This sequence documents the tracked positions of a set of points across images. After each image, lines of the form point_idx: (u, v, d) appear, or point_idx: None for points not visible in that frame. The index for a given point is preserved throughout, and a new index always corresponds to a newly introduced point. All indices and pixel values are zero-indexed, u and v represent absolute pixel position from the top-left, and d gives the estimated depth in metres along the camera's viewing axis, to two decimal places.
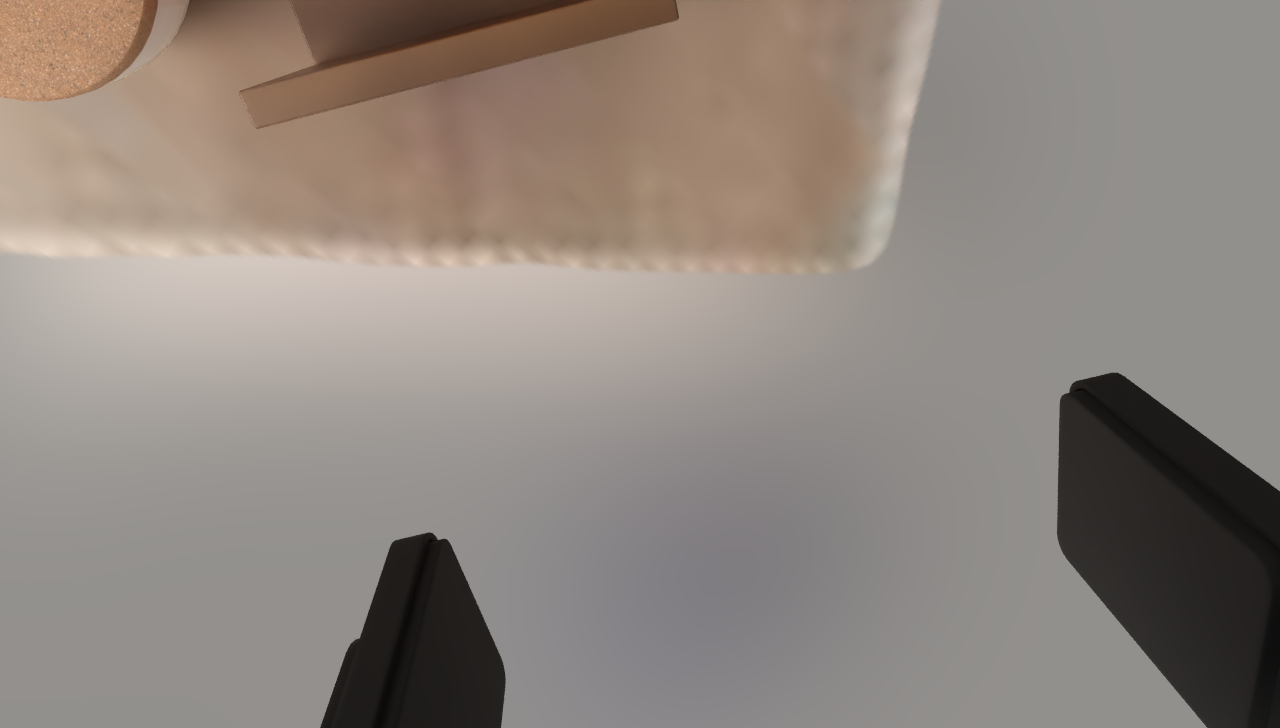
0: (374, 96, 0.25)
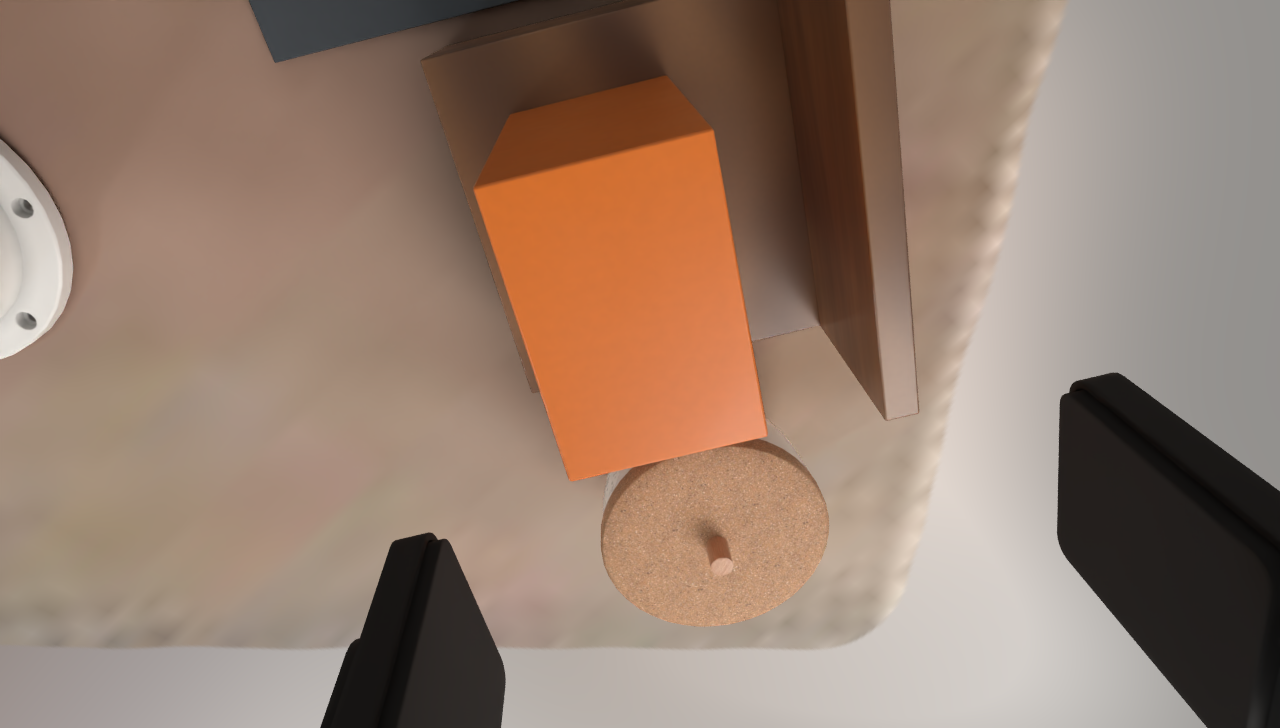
0: (910, 306, 0.24)
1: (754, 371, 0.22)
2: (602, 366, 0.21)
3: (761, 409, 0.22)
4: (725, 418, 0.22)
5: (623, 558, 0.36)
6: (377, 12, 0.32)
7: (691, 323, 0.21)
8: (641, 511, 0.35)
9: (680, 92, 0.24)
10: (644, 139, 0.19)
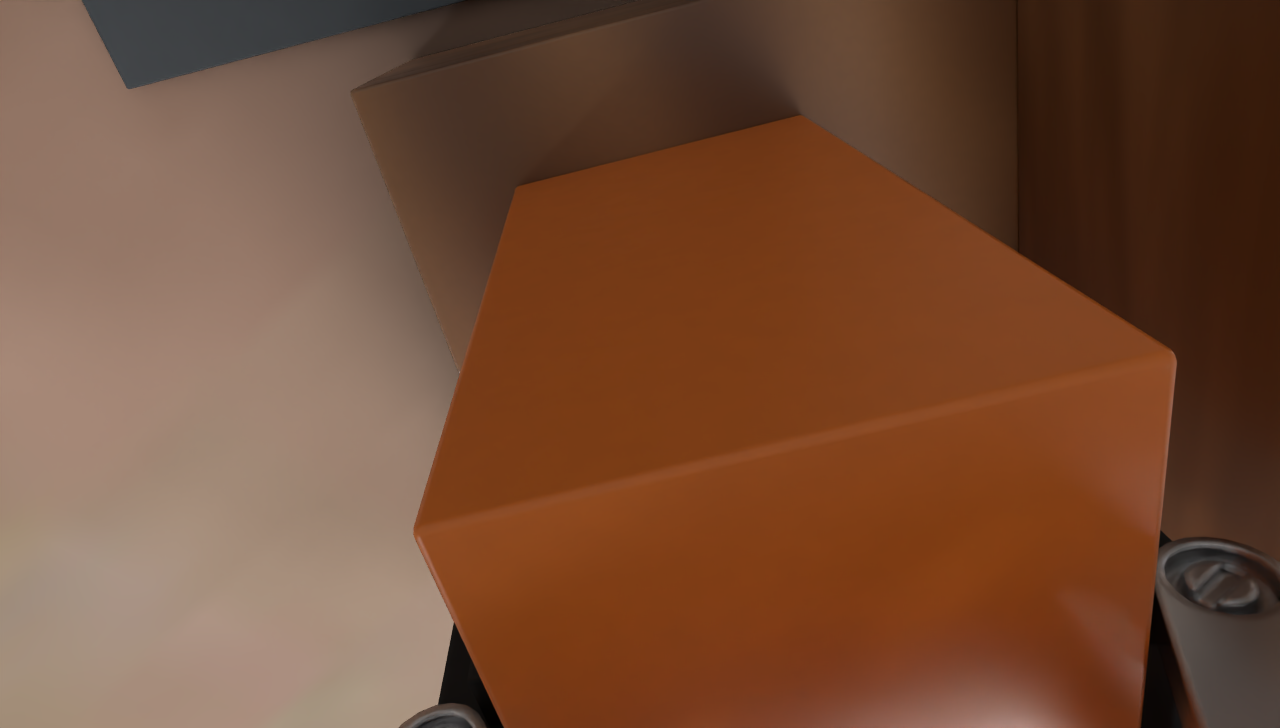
0: None
1: None
2: None
3: None
4: None
5: None
6: (294, 5, 0.19)
7: None
8: None
9: (879, 165, 0.11)
10: (931, 366, 0.06)
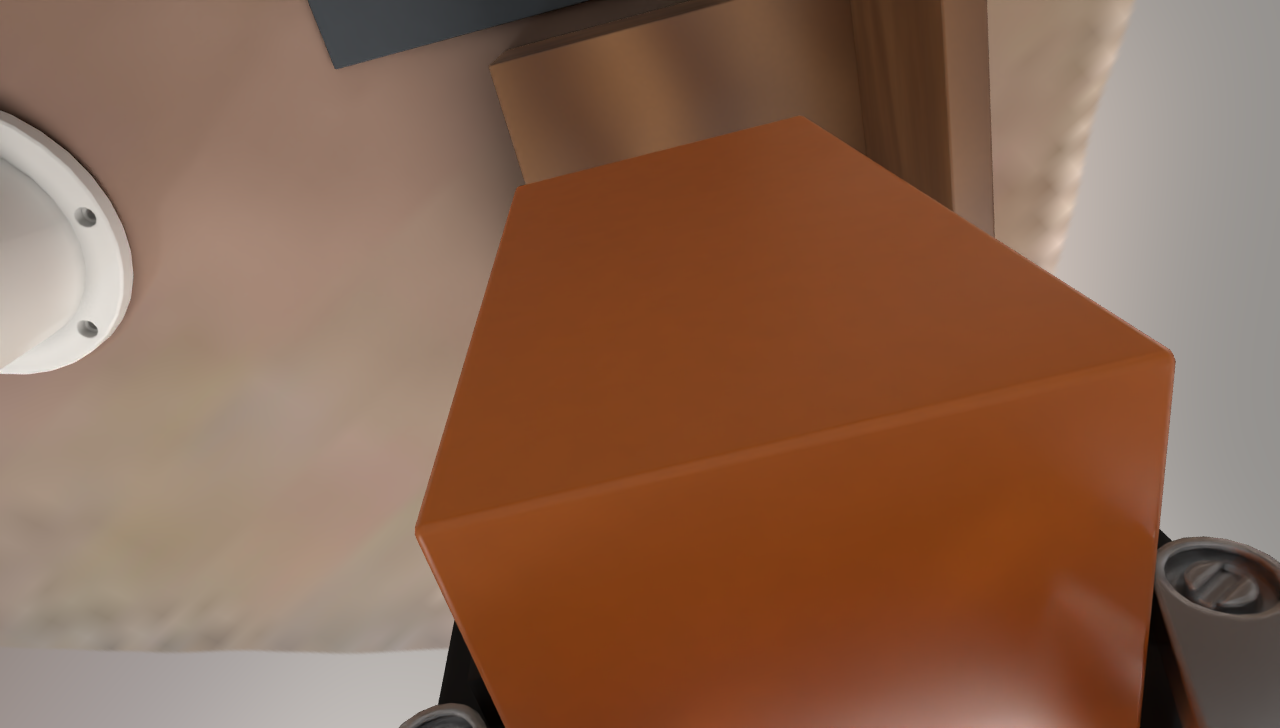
0: None
1: None
2: None
3: None
4: None
5: None
6: (438, 17, 0.32)
7: None
8: None
9: (879, 165, 0.11)
10: (930, 366, 0.06)
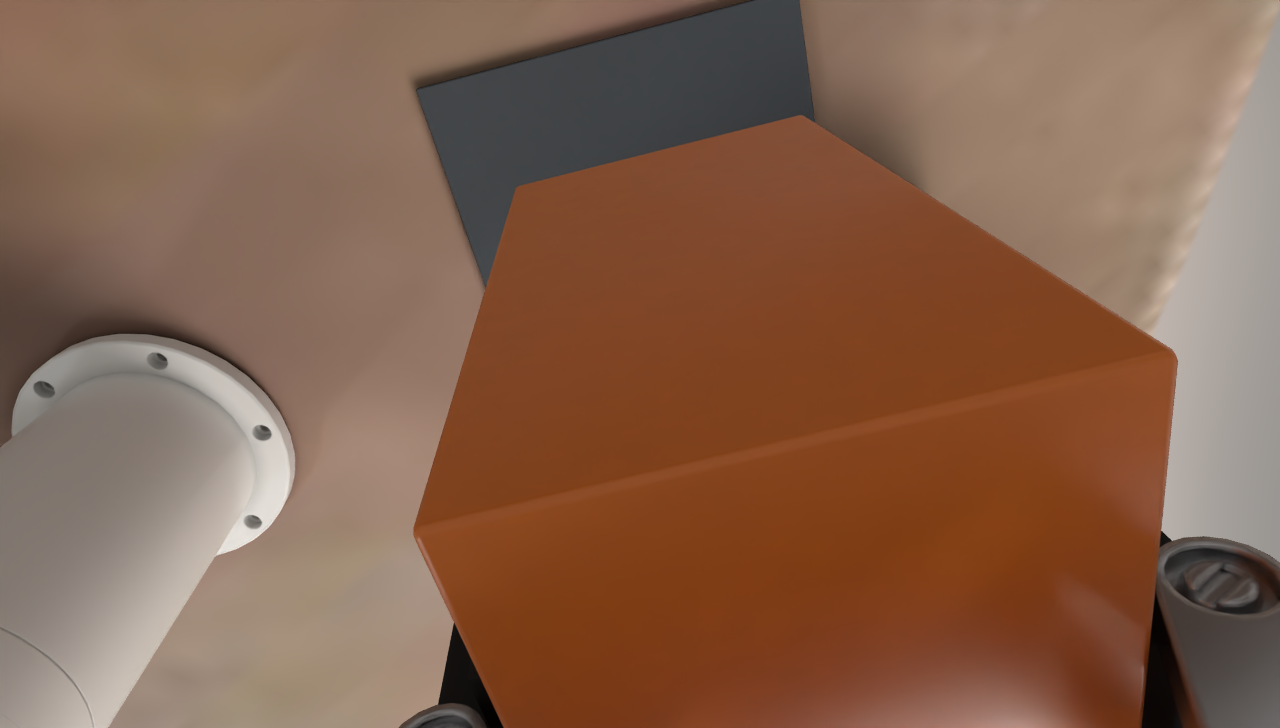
0: None
1: None
2: None
3: None
4: None
5: None
6: None
7: None
8: None
9: (880, 165, 0.11)
10: (931, 366, 0.06)
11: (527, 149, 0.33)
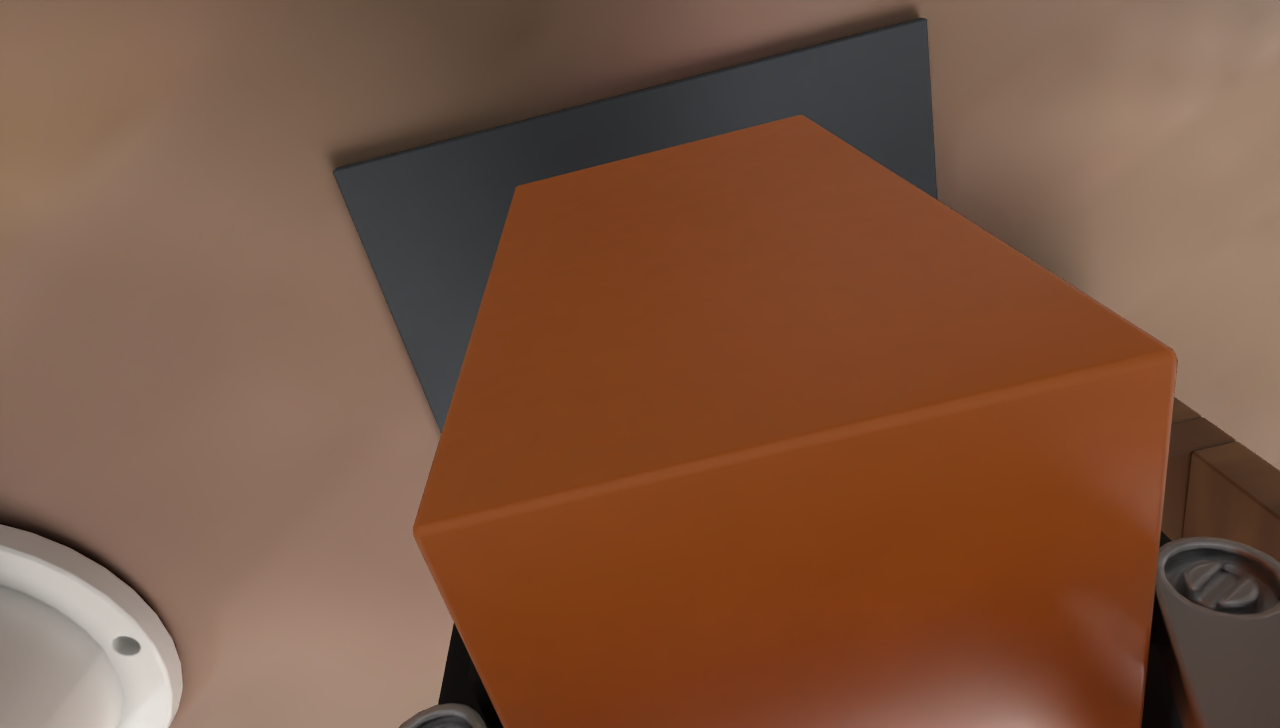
0: None
1: None
2: None
3: None
4: None
5: None
6: None
7: None
8: None
9: (879, 164, 0.11)
10: (931, 366, 0.06)
11: None
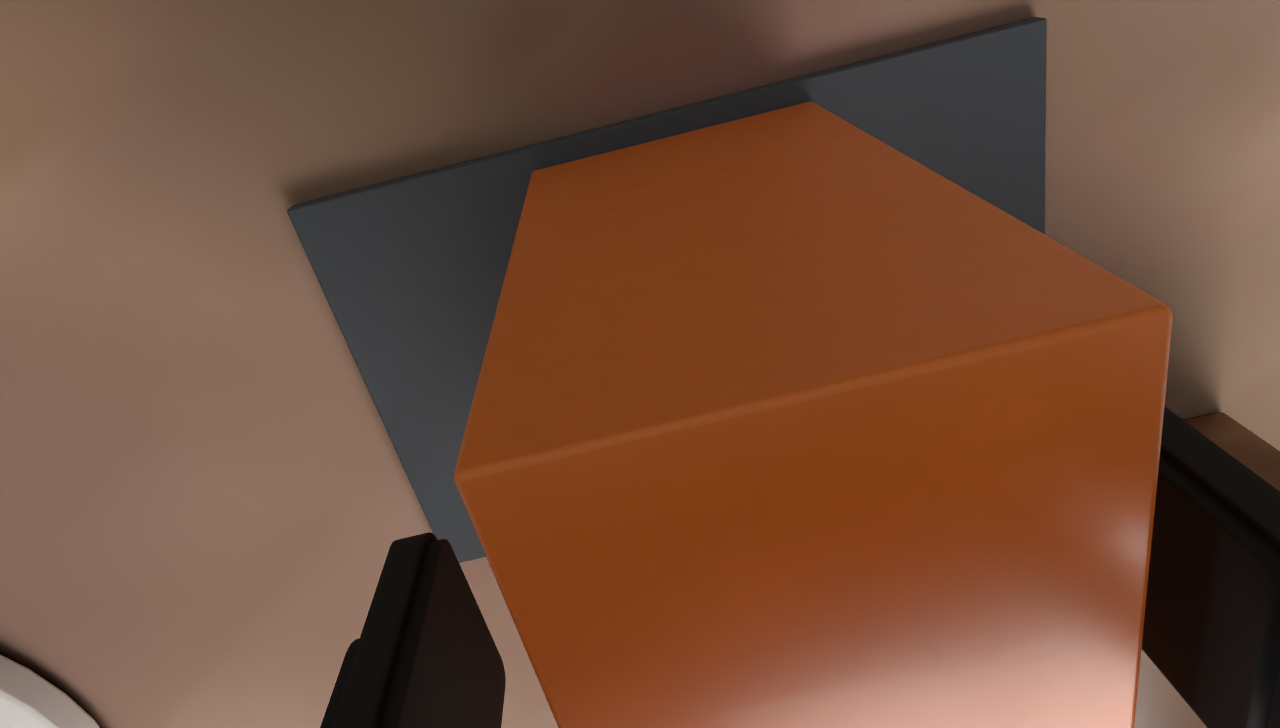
0: None
1: None
2: None
3: None
4: None
5: None
6: None
7: None
8: None
9: (888, 146, 0.12)
10: (940, 324, 0.07)
11: None
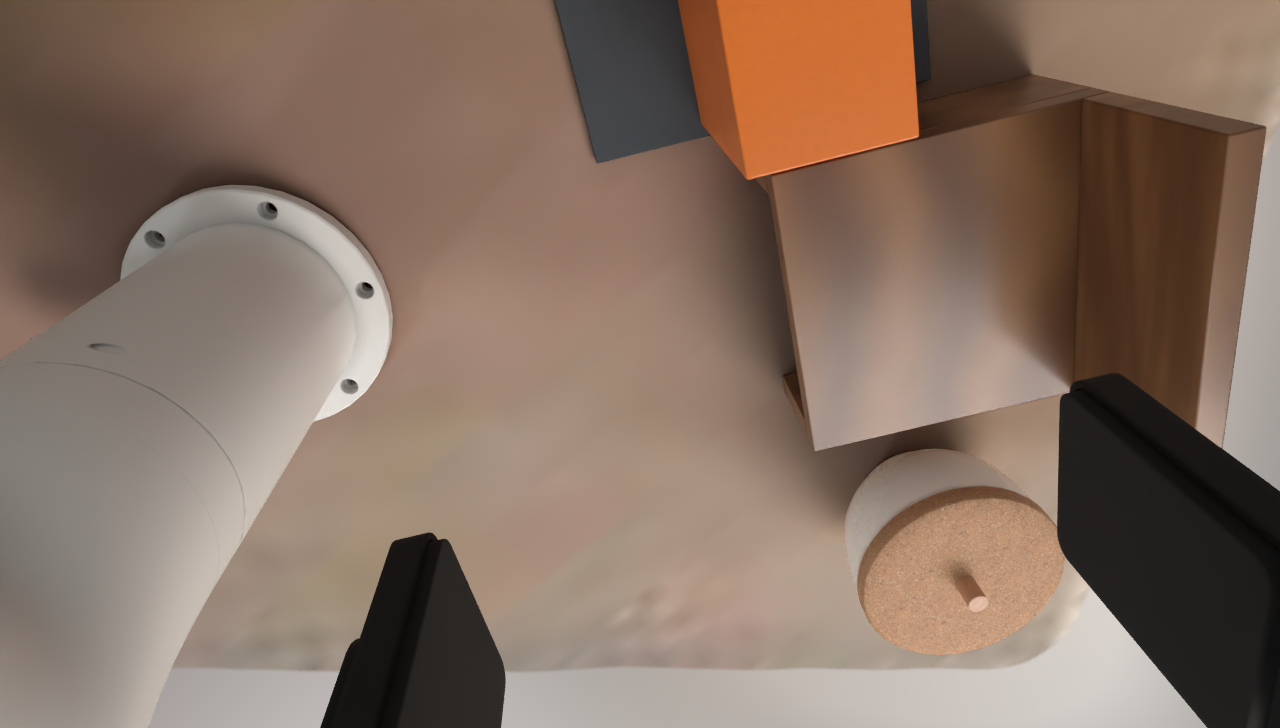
0: (1228, 396, 0.29)
1: (913, 69, 0.25)
2: (786, 60, 0.25)
3: (916, 108, 0.26)
4: (884, 116, 0.26)
5: (881, 596, 0.40)
6: (693, 120, 0.36)
7: (864, 18, 0.24)
8: (905, 555, 0.39)
9: None
10: None
11: None
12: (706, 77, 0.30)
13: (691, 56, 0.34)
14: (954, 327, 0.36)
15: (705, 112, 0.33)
